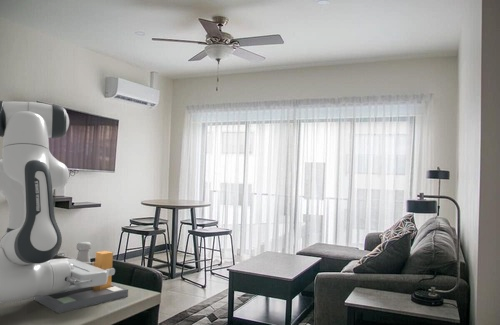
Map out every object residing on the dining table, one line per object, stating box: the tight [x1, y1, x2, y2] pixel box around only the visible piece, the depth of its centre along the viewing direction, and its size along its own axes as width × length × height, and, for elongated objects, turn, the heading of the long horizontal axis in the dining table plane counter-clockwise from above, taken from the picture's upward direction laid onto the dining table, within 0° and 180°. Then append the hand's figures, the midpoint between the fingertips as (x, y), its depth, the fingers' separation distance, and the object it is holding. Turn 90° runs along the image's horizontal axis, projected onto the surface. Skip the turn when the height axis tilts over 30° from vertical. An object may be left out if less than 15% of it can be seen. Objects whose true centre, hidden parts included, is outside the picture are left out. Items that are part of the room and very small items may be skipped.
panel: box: [33, 282, 129, 314], centre depth 107 cm, size 14×20×2 cm
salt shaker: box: [75, 241, 92, 262], centre depth 122 cm, size 6×6×13 cm
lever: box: [93, 250, 114, 291], centre depth 112 cm, size 4×4×11 cm
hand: (104, 267), depth 113 cm, fingers open, 8 cm apart
